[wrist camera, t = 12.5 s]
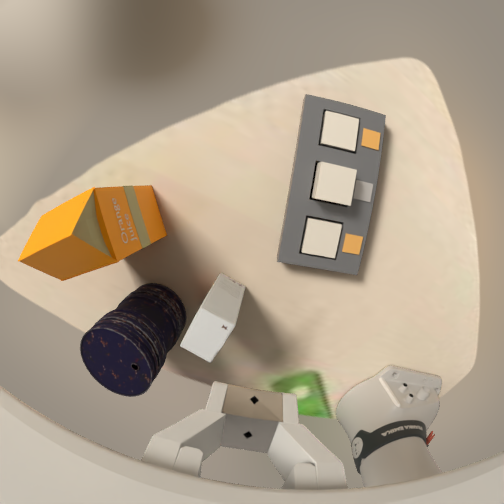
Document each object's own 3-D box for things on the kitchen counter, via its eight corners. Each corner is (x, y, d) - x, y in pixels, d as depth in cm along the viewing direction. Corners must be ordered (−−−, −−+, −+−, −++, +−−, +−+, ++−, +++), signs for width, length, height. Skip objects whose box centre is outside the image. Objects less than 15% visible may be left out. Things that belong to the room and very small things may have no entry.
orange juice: (167, 236, 39) (87, 280, 20) (118, 252, 40) (30, 299, 21) (151, 183, 38) (59, 187, 18) (103, 204, 39) (5, 223, 19)
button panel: (378, 119, 34) (386, 115, 31) (352, 269, 39) (357, 275, 36) (303, 99, 34) (305, 93, 31) (276, 256, 39) (277, 262, 36)
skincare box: (220, 271, 40) (200, 305, 28) (246, 286, 40) (237, 325, 29) (201, 304, 41) (178, 346, 30) (226, 318, 42) (211, 364, 30)
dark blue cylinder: (136, 338, 44) (94, 391, 29) (123, 283, 41) (69, 324, 27) (192, 339, 43) (162, 401, 28) (181, 281, 41) (140, 329, 26)
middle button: (350, 170, 34) (356, 169, 31) (344, 204, 35) (350, 205, 32) (317, 163, 34) (321, 161, 31) (311, 197, 35) (315, 198, 32)
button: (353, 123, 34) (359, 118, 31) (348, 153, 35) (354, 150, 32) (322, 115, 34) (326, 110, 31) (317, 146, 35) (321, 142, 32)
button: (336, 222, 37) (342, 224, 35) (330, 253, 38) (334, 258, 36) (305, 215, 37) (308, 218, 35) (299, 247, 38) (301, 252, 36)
